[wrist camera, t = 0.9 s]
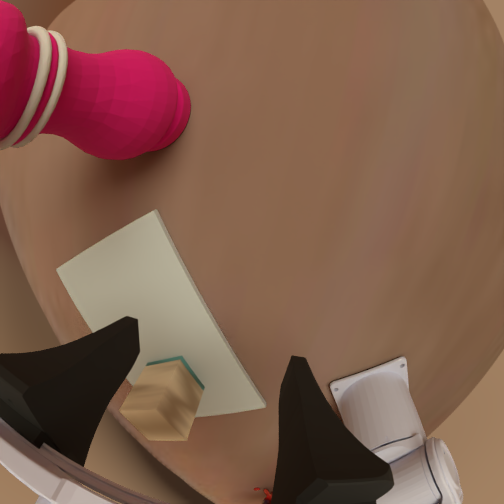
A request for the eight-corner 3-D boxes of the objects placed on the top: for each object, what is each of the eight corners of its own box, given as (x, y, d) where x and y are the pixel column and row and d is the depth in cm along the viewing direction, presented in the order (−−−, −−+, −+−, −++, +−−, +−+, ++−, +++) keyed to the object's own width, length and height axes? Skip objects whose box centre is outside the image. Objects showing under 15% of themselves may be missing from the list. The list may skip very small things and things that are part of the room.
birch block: (204, 387, 25) (186, 440, 19) (170, 392, 26) (148, 440, 20) (181, 355, 24) (155, 409, 18) (147, 362, 25) (118, 410, 19)
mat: (266, 403, 26) (266, 407, 26) (164, 416, 29) (162, 419, 29) (156, 208, 20) (153, 210, 20) (59, 267, 24) (55, 269, 23)
